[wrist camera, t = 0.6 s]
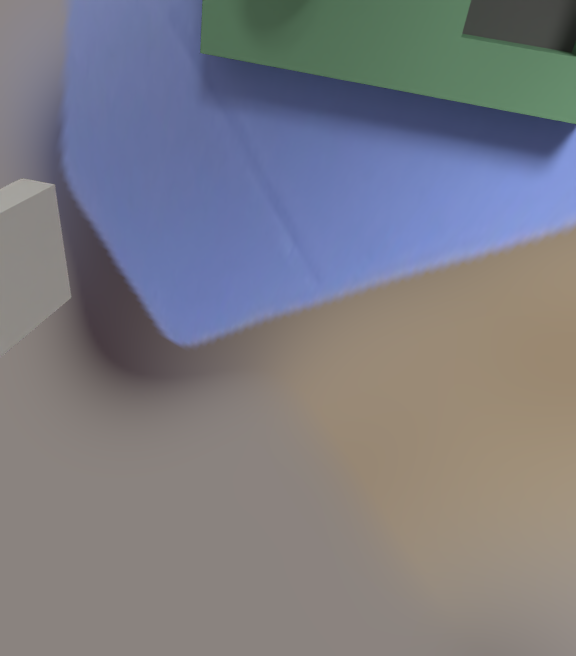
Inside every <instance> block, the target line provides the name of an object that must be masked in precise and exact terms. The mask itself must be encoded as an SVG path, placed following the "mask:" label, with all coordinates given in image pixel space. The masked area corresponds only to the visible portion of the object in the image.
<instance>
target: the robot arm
mask: <svg viewBox="0 0 576 656" xmlns="http://www.w3.org/2000/svg"><path fill="white" fill-rule="evenodd" d="M70 298H71V292H70V285H69V278H68V271H67V264H66V257H65V251H64V244H63V237H62V230H61V223H60V217H59V210H58V203H57V197H56V190H55V184H50V183H44V182H39V181H34V180H28V179H23V178H22V179H19V180H17V181H15V182H13V183H11V184H9V185H7V186H5V187H2V188H0V358H1V357H2V356H3V355H4V354H5V353H7V352H8V351H9V350H10V349H11V348H12V347H14V346H15V345H16V344H17V343H18V342H20V341H21V340H22V339H23V338H24V337H25V336H27V335H28V334H29V333H30V332H31V331H33V330H34V329H35V328H36V327H37V326H38V325H40V324H41V323H42V322H43V321H44V320H46V319H47V318H48V317H49V316H50V315H51V314H52V313H54V312H55V311H56V310H57V309H58V308H60V307H61V306H62V305H63V304H64V303H66V302H67V301H68V300H69V299H70Z"/></svg>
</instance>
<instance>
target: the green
mask: <svg viewBox="0 0 576 656" xmlns="http://www.w3.org/2000/svg"><path fill="white" fill-rule="evenodd" d="M200 53H203V54H208V55H214V56H219V57H224V58H229V59H235V60H240V61H245V62H251V63H256V64H261V65H266V66H272V67H277V68H282V69H288V70H293V71H298V72H303V73H309V74H314V75H319V76H325V77H330V78H335V79H340V80H346V81H351V82H356V83H361V84H367V85H372V86H377V87H383V88H388V89H393V90H398V91H404V92H409V93H414V94H420V95H425V96H430V97H435V98H441V99H446V100H451V101H457V102H462V103H467V104H472V105H478V106H483V107H488V108H494V109H499V110H504V111H509V112H515V113H520V114H525V115H531V116H536V117H541V118H546V119H552V120H557V121H562V122H567V123H573V124H576V0H203V1H202V25H201V49H200Z"/></svg>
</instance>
